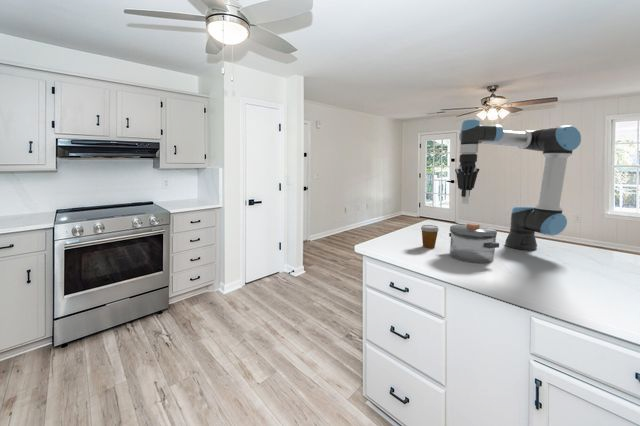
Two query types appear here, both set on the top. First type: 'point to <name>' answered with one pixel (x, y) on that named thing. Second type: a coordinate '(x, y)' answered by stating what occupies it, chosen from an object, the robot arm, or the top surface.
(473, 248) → the cooker pot
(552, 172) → the robot arm
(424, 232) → the disposable coffee cup
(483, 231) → the pot lid
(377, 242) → the top surface
